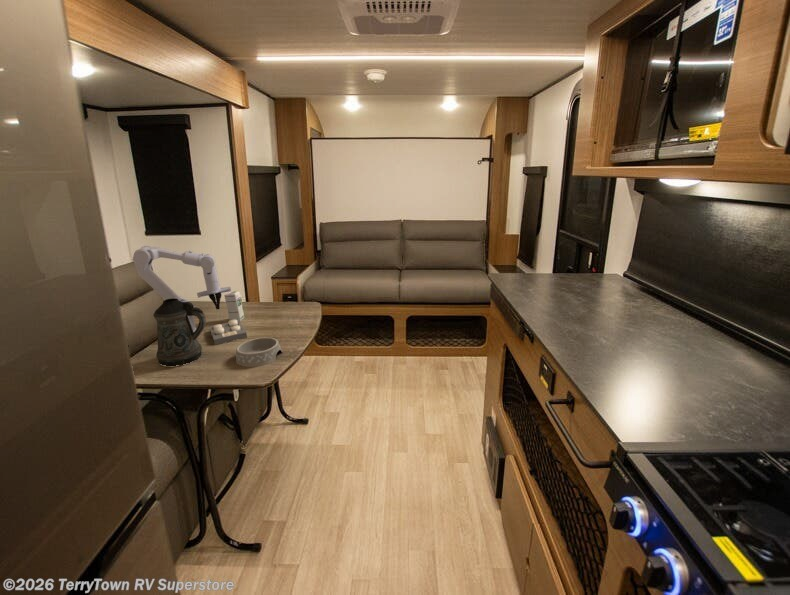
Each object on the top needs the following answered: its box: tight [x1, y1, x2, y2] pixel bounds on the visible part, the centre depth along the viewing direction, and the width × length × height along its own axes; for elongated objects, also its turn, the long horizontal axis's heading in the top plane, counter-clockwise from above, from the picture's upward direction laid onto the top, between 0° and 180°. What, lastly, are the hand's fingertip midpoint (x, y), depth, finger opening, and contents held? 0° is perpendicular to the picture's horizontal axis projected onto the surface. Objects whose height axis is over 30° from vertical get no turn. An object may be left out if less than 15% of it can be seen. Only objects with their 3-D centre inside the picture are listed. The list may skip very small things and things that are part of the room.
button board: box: [209, 320, 248, 345], centre depth 188 cm, size 14×19×3 cm
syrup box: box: [224, 290, 246, 322], centre depth 205 cm, size 6×6×14 cm
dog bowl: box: [235, 336, 283, 368], centre depth 163 cm, size 17×18×5 cm
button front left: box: [214, 327, 225, 335], centre depth 184 cm, size 4×4×3 cm
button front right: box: [231, 325, 241, 331], centre depth 188 cm, size 4×4×3 cm
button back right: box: [227, 319, 238, 327], centre depth 193 cm, size 4×4×3 cm
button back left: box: [212, 323, 222, 330], centre depth 190 cm, size 4×4×3 cm
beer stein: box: [153, 298, 207, 366], centre depth 163 cm, size 16×19×25 cm
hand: (217, 308), depth 192 cm, fingers closed
